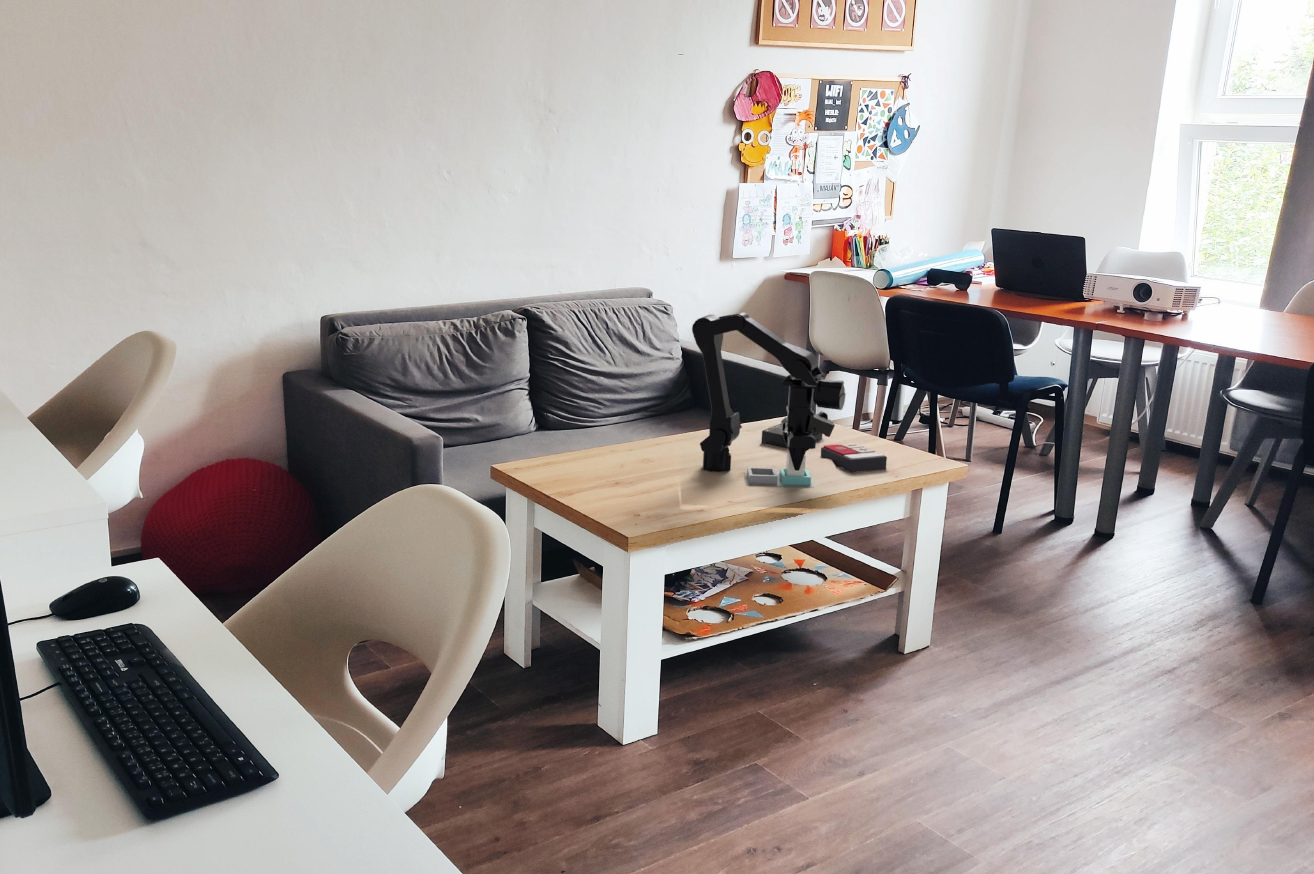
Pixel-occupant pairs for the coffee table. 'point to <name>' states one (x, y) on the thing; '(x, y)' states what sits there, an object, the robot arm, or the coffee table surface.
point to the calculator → (854, 457)
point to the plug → (790, 468)
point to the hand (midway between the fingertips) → (795, 466)
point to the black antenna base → (780, 436)
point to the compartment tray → (776, 478)
